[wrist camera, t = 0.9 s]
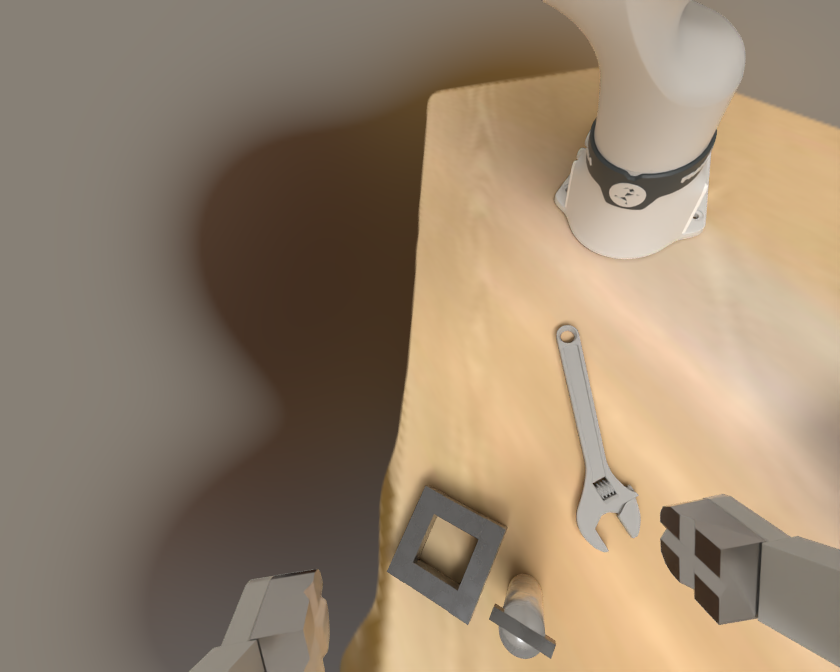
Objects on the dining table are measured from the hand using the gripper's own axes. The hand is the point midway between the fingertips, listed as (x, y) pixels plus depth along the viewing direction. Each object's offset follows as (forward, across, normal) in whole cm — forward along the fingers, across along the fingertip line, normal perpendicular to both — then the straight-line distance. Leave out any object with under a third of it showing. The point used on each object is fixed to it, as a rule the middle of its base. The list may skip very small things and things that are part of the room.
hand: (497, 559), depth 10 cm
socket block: (+33, -2, +26) cm, 42 cm away
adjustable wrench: (+35, -20, +16) cm, 43 cm away
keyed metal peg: (+28, -8, +30) cm, 42 cm away
